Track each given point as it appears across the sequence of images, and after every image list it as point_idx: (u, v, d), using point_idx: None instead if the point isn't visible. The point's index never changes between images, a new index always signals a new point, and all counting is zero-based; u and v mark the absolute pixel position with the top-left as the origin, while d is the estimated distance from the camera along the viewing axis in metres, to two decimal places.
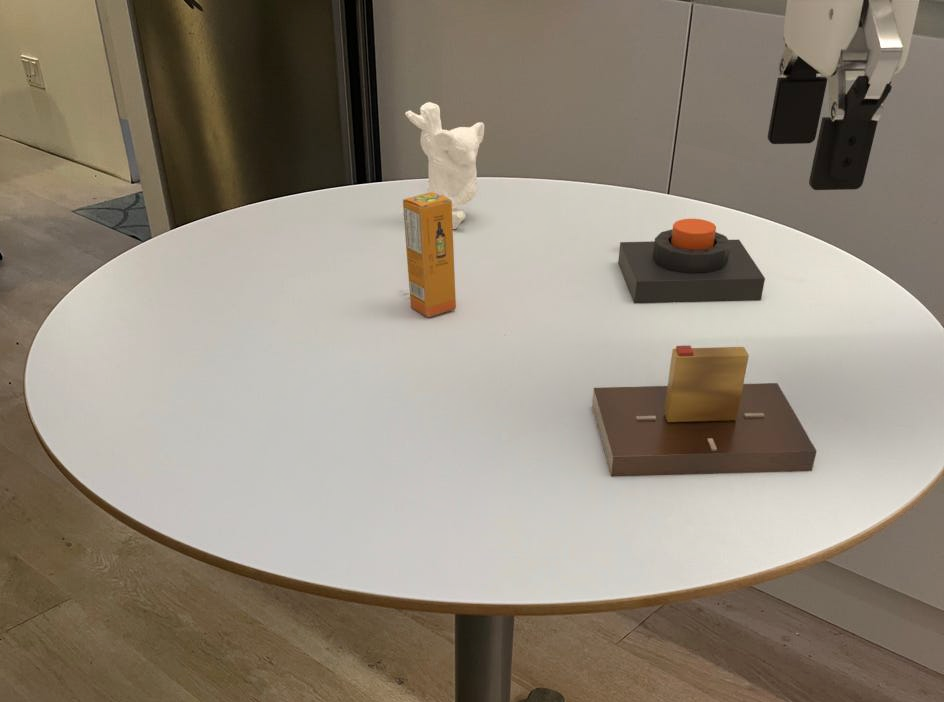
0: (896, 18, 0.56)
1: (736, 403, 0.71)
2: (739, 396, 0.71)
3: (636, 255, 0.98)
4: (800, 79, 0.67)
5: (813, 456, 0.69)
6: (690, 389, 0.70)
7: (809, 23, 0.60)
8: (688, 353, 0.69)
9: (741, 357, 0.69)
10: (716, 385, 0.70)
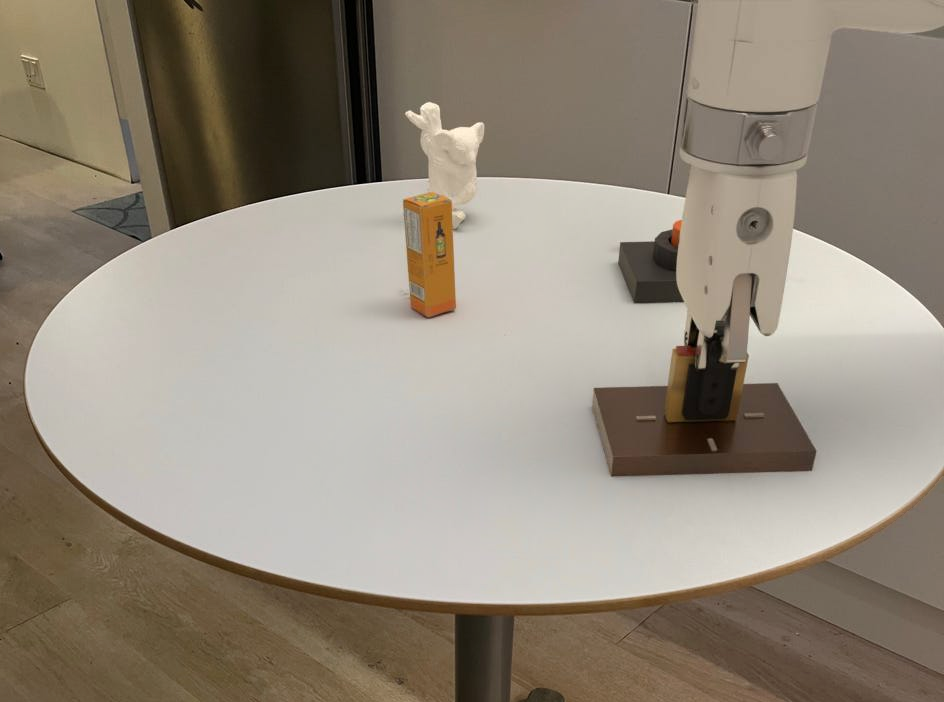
0: (764, 296, 0.62)
1: (736, 403, 0.71)
2: (739, 396, 0.71)
3: (636, 255, 0.98)
4: None
5: (813, 456, 0.69)
6: None
7: (691, 286, 0.65)
8: (688, 353, 0.69)
9: None
10: None
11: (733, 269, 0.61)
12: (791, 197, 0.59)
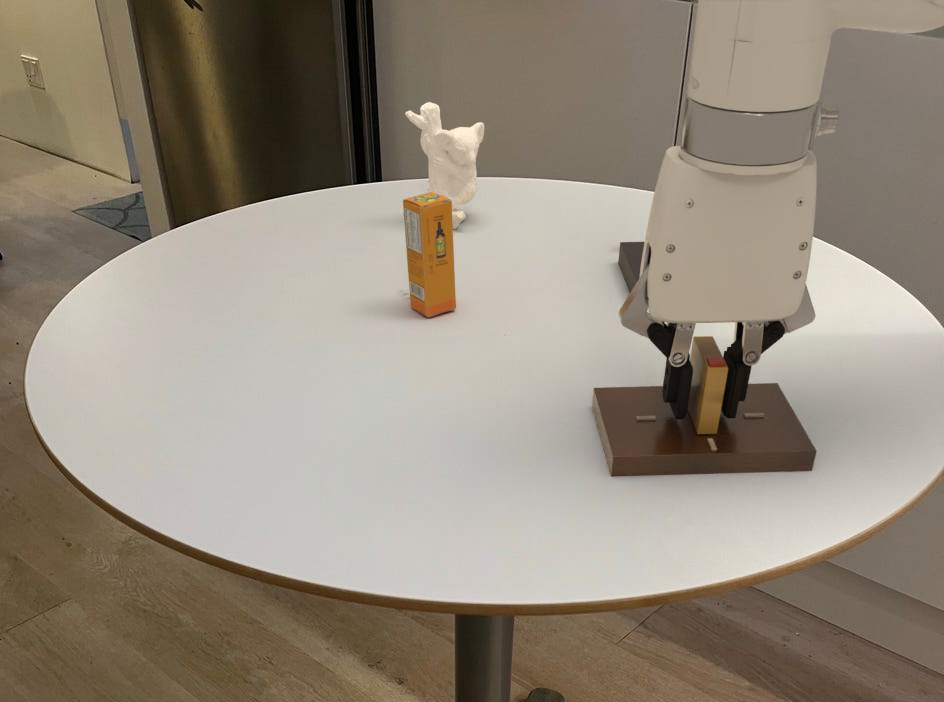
0: None
1: None
2: None
3: (636, 255, 0.98)
4: None
5: (813, 456, 0.69)
6: None
7: (749, 291, 0.64)
8: (724, 360, 0.68)
9: (714, 341, 0.71)
10: None
11: None
12: None
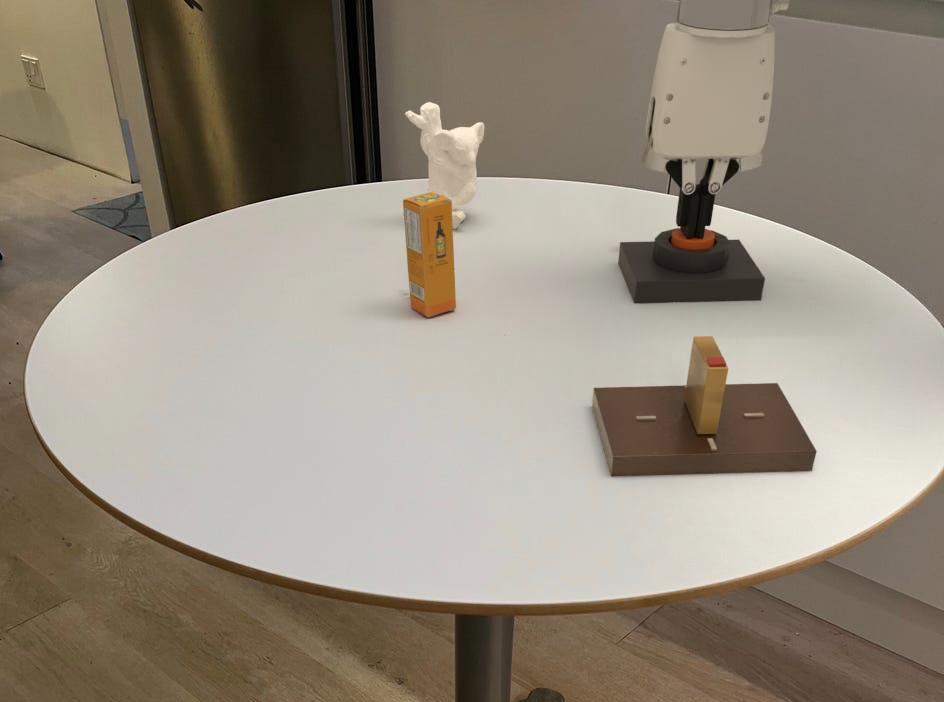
0: None
1: None
2: None
3: (636, 255, 0.98)
4: (695, 190, 0.93)
5: (813, 456, 0.69)
6: None
7: (726, 132, 0.88)
8: (724, 360, 0.68)
9: (714, 341, 0.71)
10: None
11: None
12: None
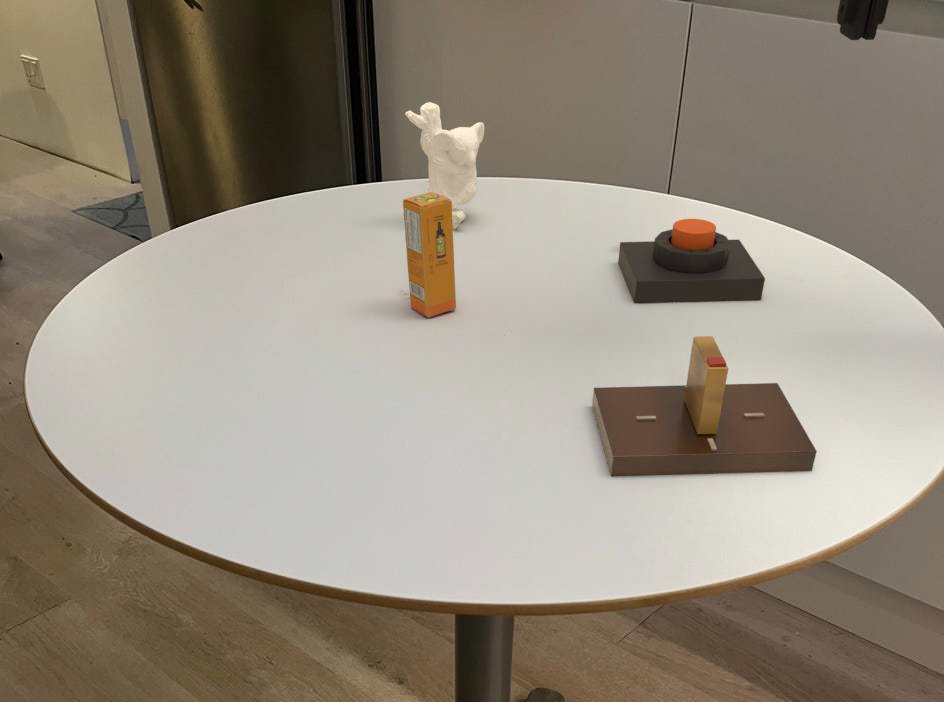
0: None
1: None
2: None
3: (636, 255, 0.98)
4: None
5: (813, 456, 0.69)
6: None
7: None
8: (724, 360, 0.68)
9: (714, 341, 0.71)
10: None
11: None
12: None
